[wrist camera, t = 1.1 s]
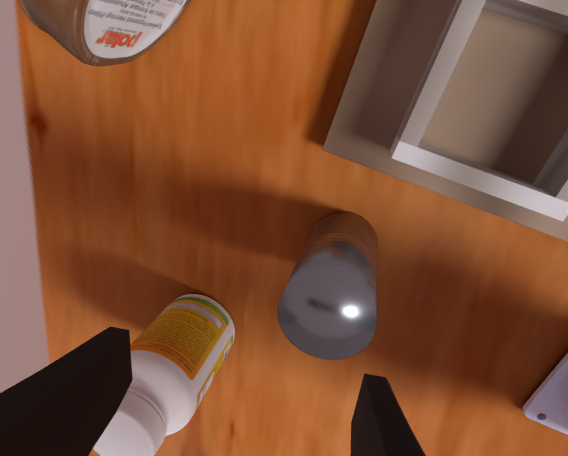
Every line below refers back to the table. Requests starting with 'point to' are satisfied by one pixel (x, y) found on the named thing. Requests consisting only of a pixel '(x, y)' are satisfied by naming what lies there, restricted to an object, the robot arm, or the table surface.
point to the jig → (465, 104)
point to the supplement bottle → (169, 375)
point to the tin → (105, 26)
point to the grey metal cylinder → (333, 289)
